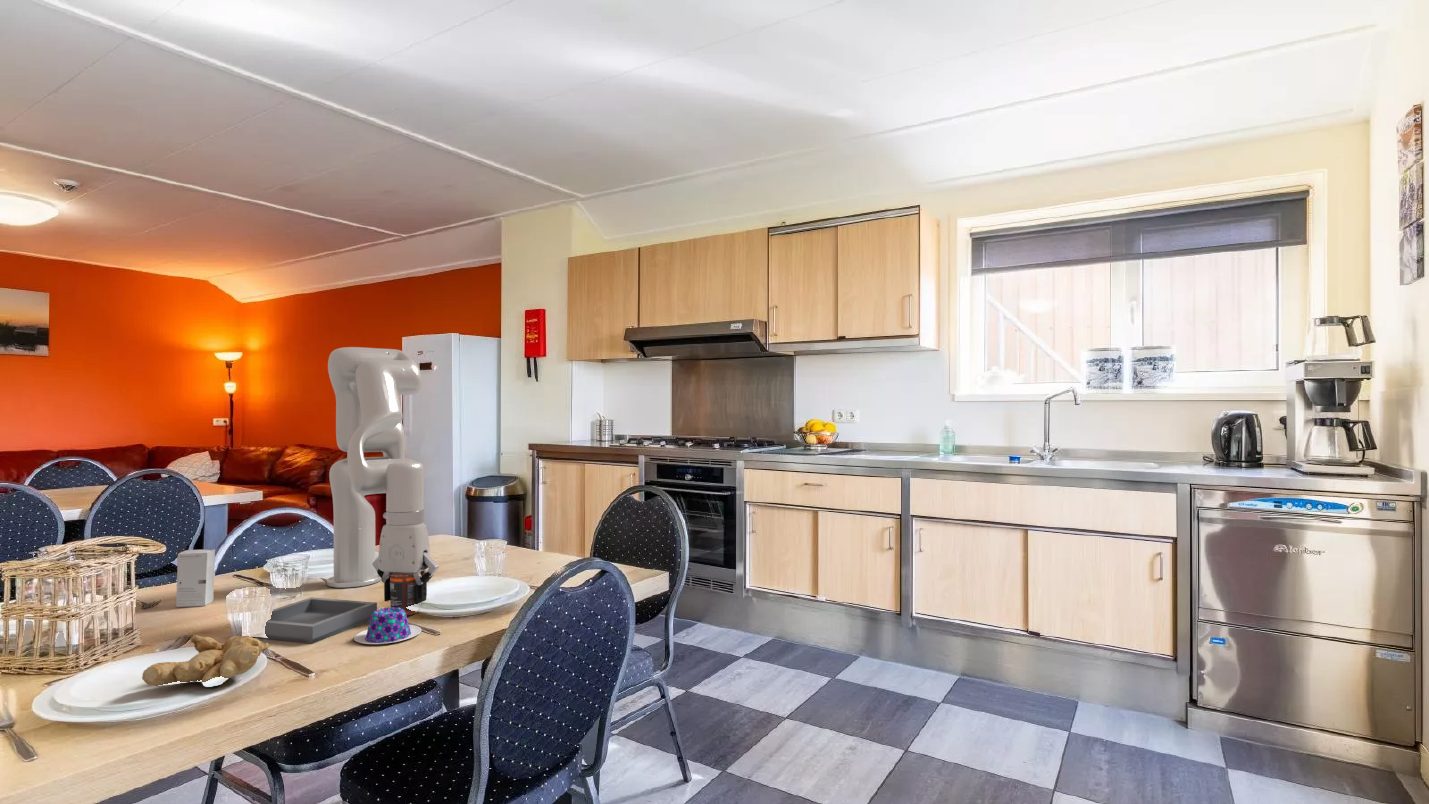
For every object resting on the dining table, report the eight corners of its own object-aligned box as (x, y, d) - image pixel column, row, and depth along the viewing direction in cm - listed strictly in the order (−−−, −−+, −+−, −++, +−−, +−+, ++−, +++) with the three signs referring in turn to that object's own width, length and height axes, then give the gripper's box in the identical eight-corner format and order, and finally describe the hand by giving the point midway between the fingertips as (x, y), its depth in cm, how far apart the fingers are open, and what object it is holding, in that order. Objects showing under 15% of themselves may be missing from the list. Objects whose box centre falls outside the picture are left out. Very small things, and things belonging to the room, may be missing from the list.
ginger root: (297, 651, 127) (289, 610, 125) (240, 710, 112) (229, 664, 110) (209, 654, 127) (200, 614, 125) (140, 713, 112) (128, 668, 110)
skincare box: (175, 608, 160) (175, 553, 160) (185, 602, 164) (185, 549, 164) (206, 606, 161) (206, 552, 161) (215, 600, 165) (215, 548, 165)
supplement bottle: (425, 609, 158) (425, 558, 158) (411, 617, 152) (411, 564, 152) (399, 608, 158) (399, 557, 158) (384, 616, 152) (384, 563, 152)
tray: (311, 612, 156) (311, 597, 156) (376, 617, 152) (376, 602, 152) (241, 636, 140) (241, 619, 140) (312, 643, 135) (312, 626, 135)
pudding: (359, 652, 131) (359, 623, 131) (349, 635, 141) (349, 608, 141) (428, 639, 138) (428, 612, 138) (413, 624, 148) (413, 599, 148)
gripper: (359, 519, 154) (359, 602, 154) (428, 523, 149) (428, 608, 149) (383, 514, 161) (383, 594, 161) (450, 517, 157) (450, 599, 156)
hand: (405, 600), depth 155 cm, fingers open, 6 cm apart
